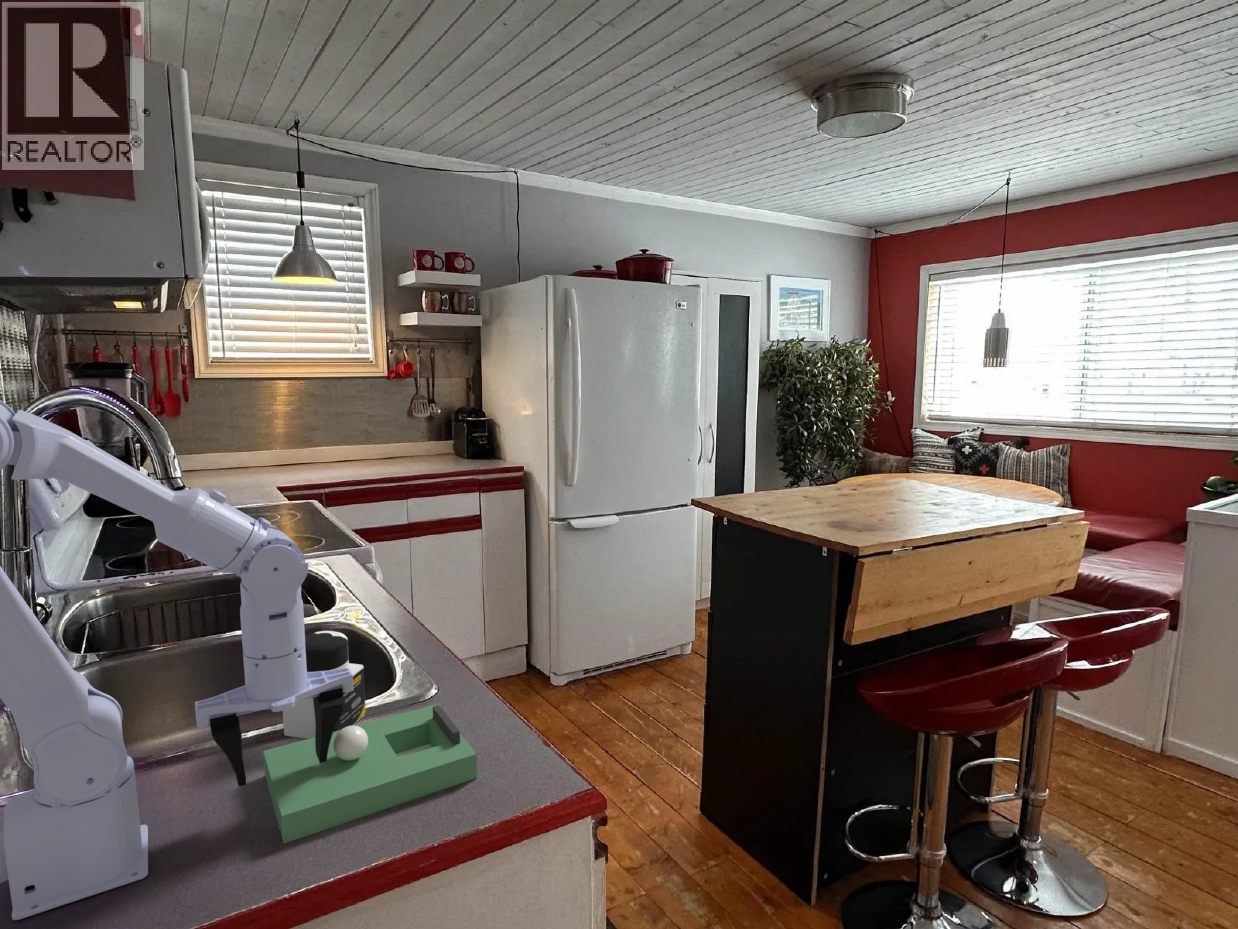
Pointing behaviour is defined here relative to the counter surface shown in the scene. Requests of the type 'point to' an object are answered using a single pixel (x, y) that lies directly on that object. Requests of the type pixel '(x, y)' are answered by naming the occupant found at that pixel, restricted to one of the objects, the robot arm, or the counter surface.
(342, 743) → the ball
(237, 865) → the counter surface
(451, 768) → the green pocketed block
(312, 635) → the medicine bottle
